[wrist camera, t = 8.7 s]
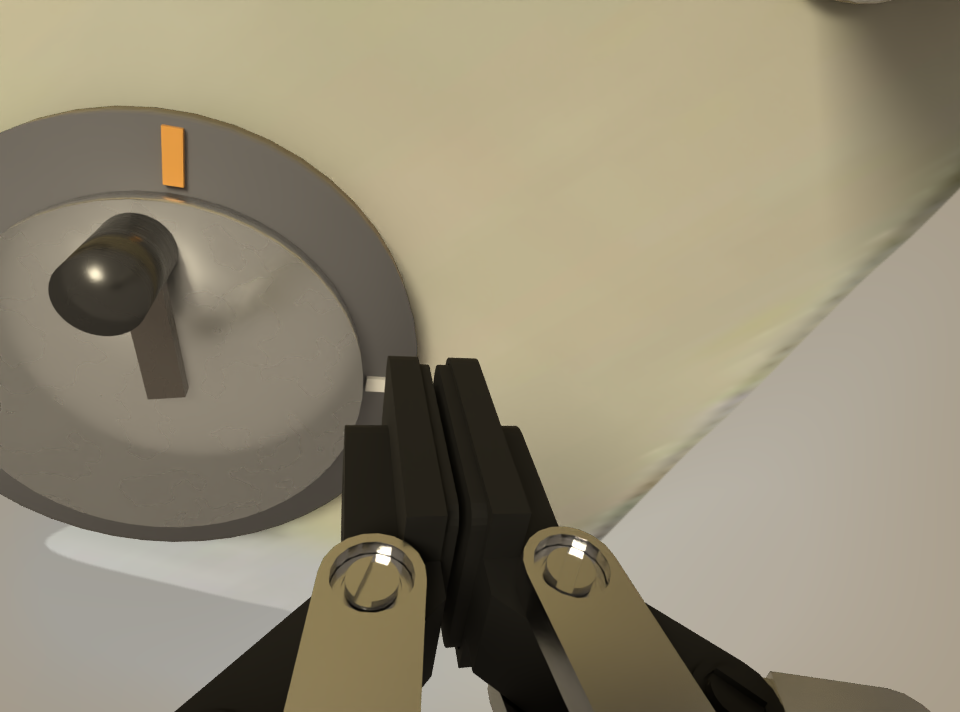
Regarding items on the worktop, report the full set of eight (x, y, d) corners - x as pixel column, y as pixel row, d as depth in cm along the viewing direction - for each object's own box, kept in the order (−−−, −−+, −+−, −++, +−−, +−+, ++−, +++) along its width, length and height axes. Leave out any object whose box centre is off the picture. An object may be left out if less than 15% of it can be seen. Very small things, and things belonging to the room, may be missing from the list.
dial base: (475, 210, 31) (485, 224, 29) (344, 537, 40) (345, 564, 38) (-106, 3, 22) (-148, 3, 20) (-98, 486, 31) (-126, 517, 29)
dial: (366, 490, 36) (373, 577, 30) (26, 524, 32) (-37, 632, 26) (355, 193, 27) (363, 240, 21) (-121, 187, 23) (-263, 244, 17)
